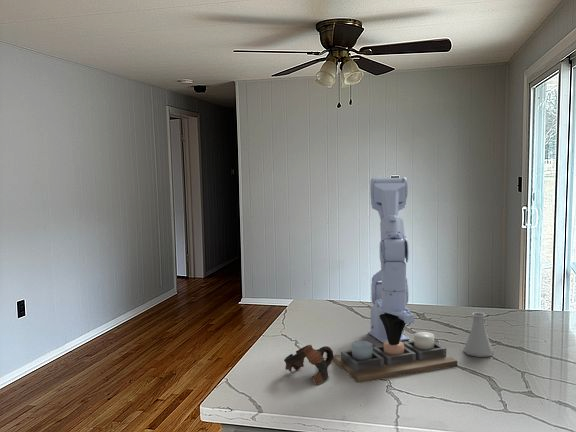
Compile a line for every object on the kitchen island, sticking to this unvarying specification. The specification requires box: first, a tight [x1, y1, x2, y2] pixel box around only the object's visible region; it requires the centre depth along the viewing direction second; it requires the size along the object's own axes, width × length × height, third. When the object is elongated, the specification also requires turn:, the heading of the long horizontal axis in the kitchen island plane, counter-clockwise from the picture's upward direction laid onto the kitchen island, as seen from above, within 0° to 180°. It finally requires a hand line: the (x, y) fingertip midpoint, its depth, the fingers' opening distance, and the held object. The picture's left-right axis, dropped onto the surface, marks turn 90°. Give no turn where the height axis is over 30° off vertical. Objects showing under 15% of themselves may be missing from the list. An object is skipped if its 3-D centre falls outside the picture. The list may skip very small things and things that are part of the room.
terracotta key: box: [383, 341, 404, 356], centre depth 126 cm, size 5×5×3 cm
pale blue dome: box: [351, 340, 373, 361], centre depth 123 cm, size 5×5×3 cm
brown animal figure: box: [283, 344, 334, 386], centre depth 120 cm, size 12×10×8 cm
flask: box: [462, 312, 494, 358], centre depth 131 cm, size 7×7×10 cm
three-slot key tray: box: [332, 340, 458, 384], centre depth 126 cm, size 14×26×3 cm, turn 109°
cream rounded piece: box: [413, 331, 435, 351], centre depth 128 cm, size 5×5×3 cm
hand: (393, 344), depth 125 cm, fingers closed, pressing on terracotta key
